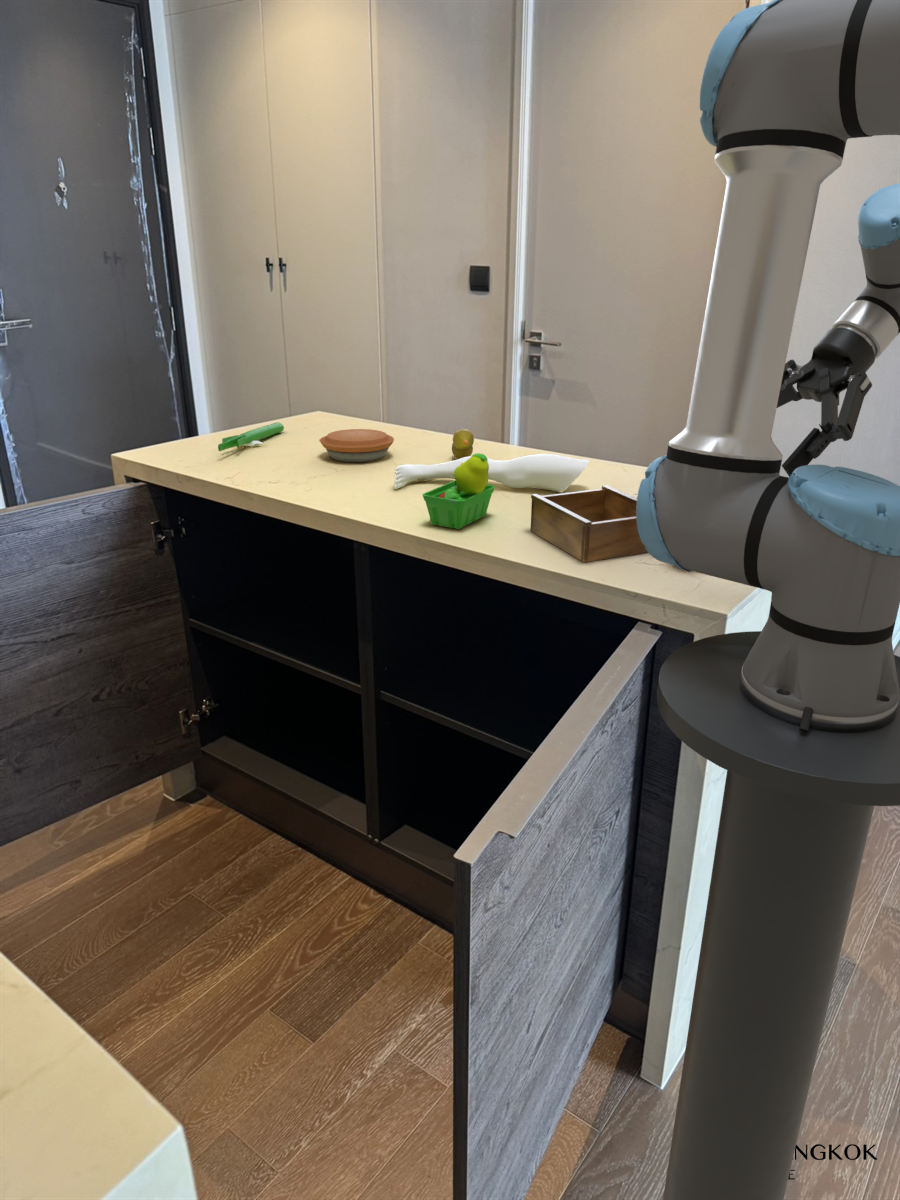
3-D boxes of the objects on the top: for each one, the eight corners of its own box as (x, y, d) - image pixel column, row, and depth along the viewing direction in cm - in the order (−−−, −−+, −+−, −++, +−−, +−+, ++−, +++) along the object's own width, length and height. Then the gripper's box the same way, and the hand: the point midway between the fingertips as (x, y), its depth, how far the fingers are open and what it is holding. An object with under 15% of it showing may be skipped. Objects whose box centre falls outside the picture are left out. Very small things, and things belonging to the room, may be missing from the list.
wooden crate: (663, 550, 126) (667, 511, 124) (583, 562, 121) (585, 522, 119) (604, 520, 140) (607, 485, 137) (529, 530, 135) (531, 494, 132)
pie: (361, 445, 191) (360, 422, 189) (409, 456, 181) (409, 432, 179) (305, 456, 181) (304, 432, 179) (353, 469, 171) (352, 444, 169)
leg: (589, 460, 148) (590, 447, 158) (391, 464, 154) (403, 451, 164) (589, 498, 151) (589, 483, 160) (394, 500, 157) (406, 485, 166)
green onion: (270, 435, 204) (209, 456, 177) (270, 421, 203) (208, 440, 176) (290, 436, 203) (231, 458, 176) (289, 422, 202) (230, 442, 175)
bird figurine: (455, 467, 172) (455, 435, 170) (448, 451, 186) (448, 420, 184) (477, 467, 173) (477, 434, 170) (468, 450, 186) (468, 420, 184)
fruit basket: (456, 508, 146) (456, 441, 142) (502, 516, 142) (504, 448, 138) (420, 525, 137) (419, 455, 133) (469, 534, 133) (469, 462, 128)
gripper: (942, 374, 109) (833, 501, 110) (797, 353, 131) (705, 459, 131) (922, 332, 105) (808, 464, 106) (775, 317, 127) (680, 427, 127)
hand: (751, 461), depth 118 cm, fingers open, 13 cm apart
